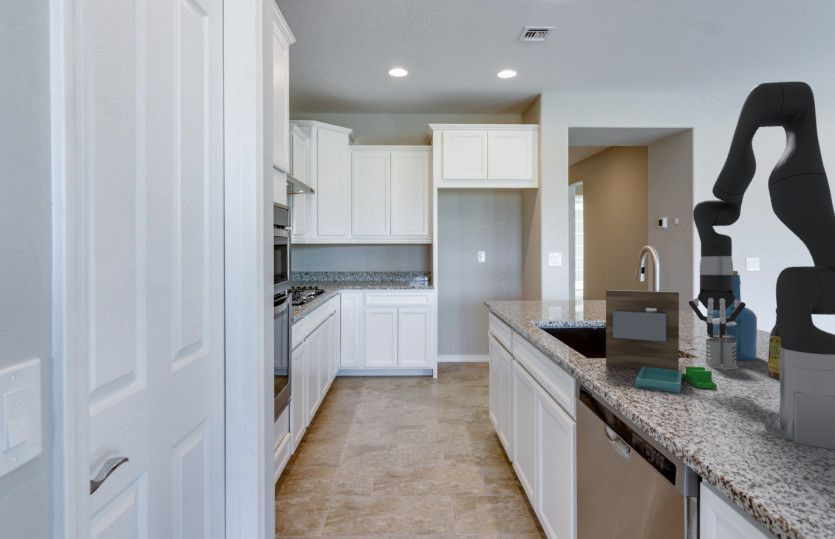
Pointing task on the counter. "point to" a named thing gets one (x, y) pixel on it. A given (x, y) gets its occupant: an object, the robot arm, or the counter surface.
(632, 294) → the board
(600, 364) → the counter surface
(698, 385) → the pipe clamp
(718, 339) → the french press
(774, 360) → the sauce bottle
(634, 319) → the control unit
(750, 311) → the wine bottle
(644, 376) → the tray
